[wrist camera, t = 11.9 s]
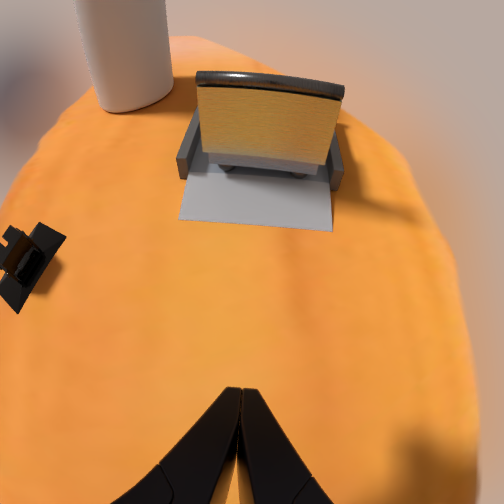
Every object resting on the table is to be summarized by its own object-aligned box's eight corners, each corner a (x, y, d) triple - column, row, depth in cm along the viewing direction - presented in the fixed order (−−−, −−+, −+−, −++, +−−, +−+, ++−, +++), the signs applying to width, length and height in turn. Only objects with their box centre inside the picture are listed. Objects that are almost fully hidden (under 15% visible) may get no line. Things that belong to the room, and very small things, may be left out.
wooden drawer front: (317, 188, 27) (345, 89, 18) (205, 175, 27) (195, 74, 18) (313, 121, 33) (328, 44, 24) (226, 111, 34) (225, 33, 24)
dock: (339, 238, 26) (356, 204, 22) (169, 225, 26) (158, 189, 22) (322, 125, 36) (329, 95, 32) (204, 116, 36) (202, 85, 32)
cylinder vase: (117, 82, 41) (96, -36, 20) (182, 75, 42) (173, -55, 20) (87, 119, 35) (50, -24, 14) (162, 111, 35) (141, -56, 14)
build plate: (46, 213, 27) (28, 186, 23) (83, 232, 25) (64, 203, 21) (-11, 300, 21) (-37, 281, 17) (20, 335, 19) (-11, 317, 15)
